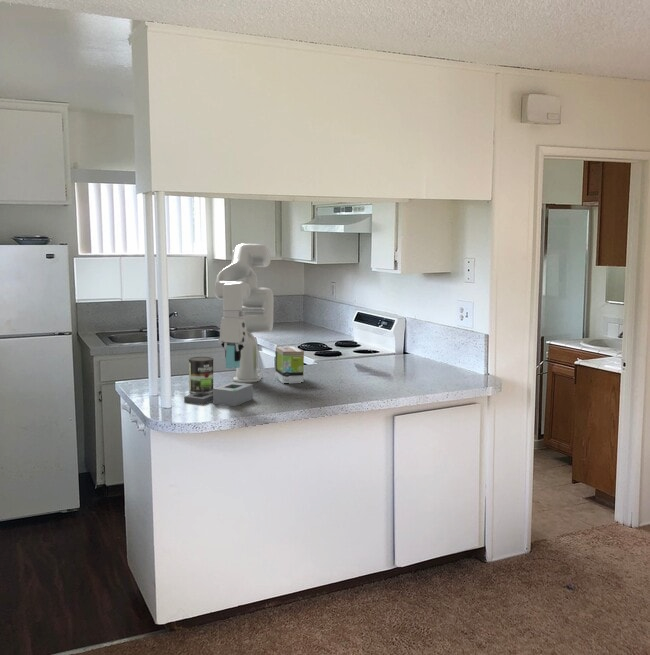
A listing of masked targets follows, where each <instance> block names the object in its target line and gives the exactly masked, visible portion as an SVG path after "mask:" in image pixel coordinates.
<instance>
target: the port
mask: <svg viewBox="0 0 650 655" xmlns="http://www.w3.org/2000/svg"><path fill="white" fill-rule="evenodd" d="M212 393H213V401H212V404H213V405H214V404H215V405H221V406H228V407H229V406H230V407H237V406H239V405H242V404H244V403H246V402H249V401H251V400H253V399H254V385H253V383H241V382H235V381H230V382H227V383H225V384H222V385H219V386H216V387H213V392H212ZM248 400H249V401H248Z"/></svg>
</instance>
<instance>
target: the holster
mask: <svg viewBox="0 0 650 655" xmlns="http://www.w3.org/2000/svg"><path fill="white" fill-rule="evenodd" d="M183 398H184V400H183V402H184V403H189V404H195V405H196V404H197V405H206V404H208V403H212V402H213V392H211V393H206V392H196V393H190V394H188V395H185V396H183Z"/></svg>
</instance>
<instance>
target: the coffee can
mask: <svg viewBox="0 0 650 655" xmlns="http://www.w3.org/2000/svg"><path fill="white" fill-rule="evenodd" d="M188 370H189V372H188V375H189V376H188V378H189V380H188V382H189V383H188V384H189V386H188V388H189V389H188V390H189V391H188V392H189V393H190V394H193V393H196V392H206V393H213V388H214V358H213V357H212V356H193V357H189V358H188Z"/></svg>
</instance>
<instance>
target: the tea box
mask: <svg viewBox="0 0 650 655" xmlns="http://www.w3.org/2000/svg"><path fill="white" fill-rule="evenodd" d="M274 355H275V356H274V357H275V360H274V361H275V365H274V366H275V367H274V369H275V370H274V373H275V376H274V377H275V378H276V379H277V380H278V381H279V382H281V384H284V383H289V384H302V383H301V382H303V383H304V369H305V366H304V365H305V362H304V361H305V350H303V349H301V348H298V347H297V346H275V354H274Z"/></svg>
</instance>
